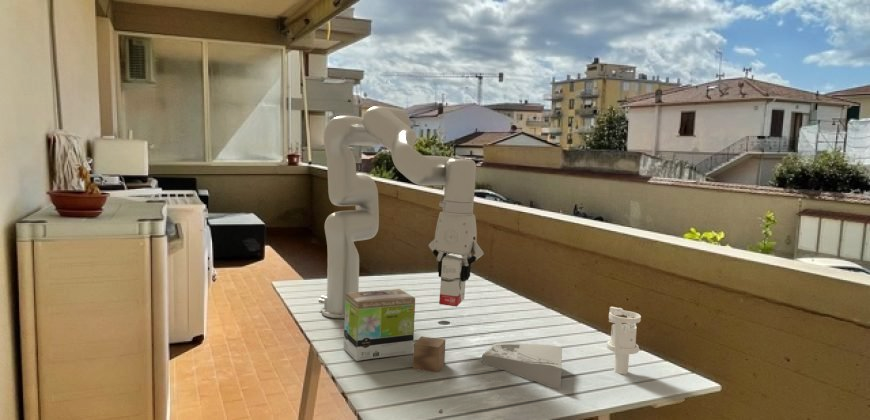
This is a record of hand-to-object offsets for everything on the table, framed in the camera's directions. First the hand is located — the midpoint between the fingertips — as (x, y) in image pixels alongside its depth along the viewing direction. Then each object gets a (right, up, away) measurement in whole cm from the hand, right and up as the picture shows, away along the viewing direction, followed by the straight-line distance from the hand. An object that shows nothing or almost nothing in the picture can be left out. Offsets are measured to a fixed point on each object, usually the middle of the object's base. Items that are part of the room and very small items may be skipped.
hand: (453, 277), depth 142 cm
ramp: (+17, -21, -10) cm, 28 cm away
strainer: (+39, -21, -11) cm, 46 cm away
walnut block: (-6, -20, -11) cm, 23 cm away
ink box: (0, -7, +1) cm, 7 cm away
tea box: (-19, -18, -3) cm, 27 cm away
